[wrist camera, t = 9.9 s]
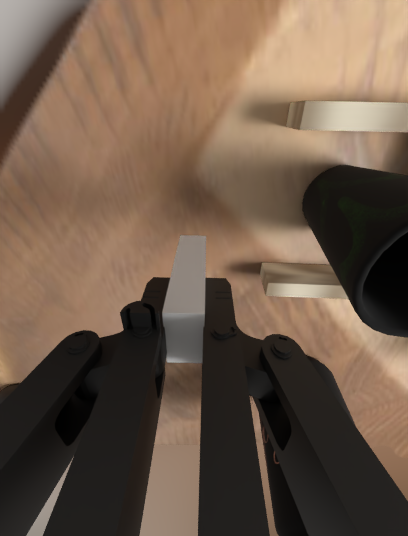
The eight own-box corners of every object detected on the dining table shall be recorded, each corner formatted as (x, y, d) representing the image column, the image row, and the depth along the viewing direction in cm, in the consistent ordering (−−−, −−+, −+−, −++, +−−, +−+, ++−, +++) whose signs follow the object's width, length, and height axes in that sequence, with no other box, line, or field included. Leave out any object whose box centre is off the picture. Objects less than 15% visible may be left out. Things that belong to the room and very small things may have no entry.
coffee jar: (262, 348, 32) (304, 560, 17) (341, 355, 32) (454, 572, 17) (247, 392, 38) (269, 578, 23) (315, 397, 38) (380, 587, 23)
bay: (259, 274, 25) (268, 304, 21) (290, 102, 17) (312, 99, 13) (392, 279, 25) (425, 310, 21) (488, 106, 17) (571, 105, 13)
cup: (376, 231, 22) (509, 329, 12) (291, 246, 23) (347, 346, 13) (391, 139, 18) (608, 172, 8) (288, 163, 19) (364, 216, 9)
